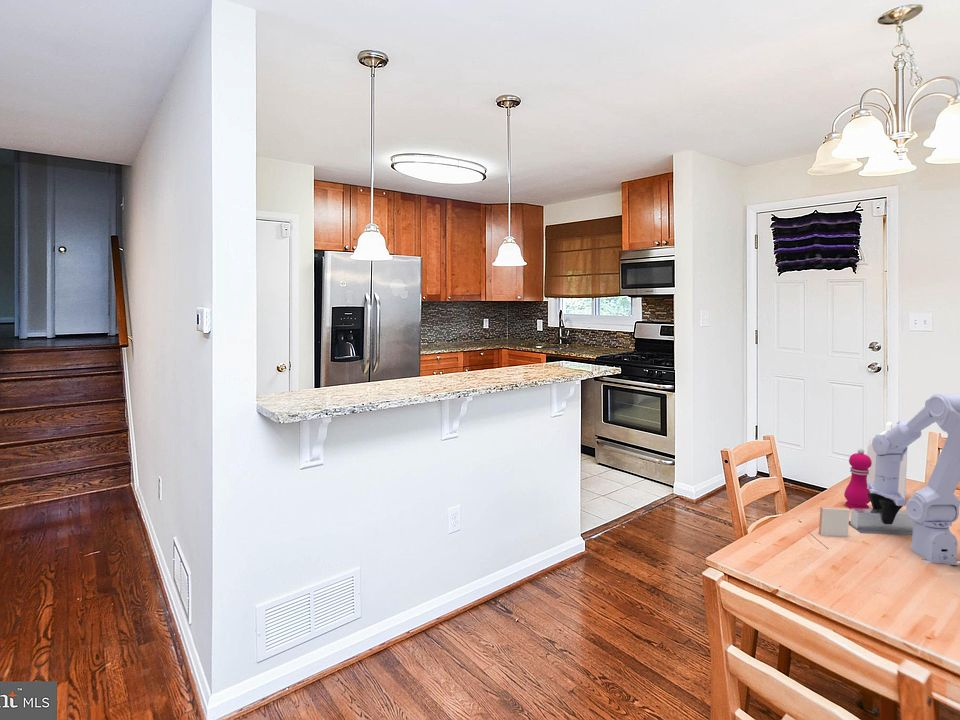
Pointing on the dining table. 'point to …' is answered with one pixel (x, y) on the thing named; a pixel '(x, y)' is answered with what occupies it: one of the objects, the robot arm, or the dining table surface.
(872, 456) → the milk
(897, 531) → the board
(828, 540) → the dining table surface
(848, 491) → the pepper mill
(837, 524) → the tile
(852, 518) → the bar
